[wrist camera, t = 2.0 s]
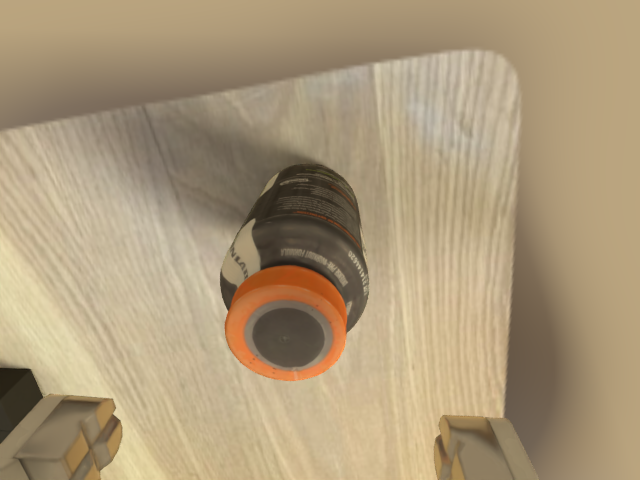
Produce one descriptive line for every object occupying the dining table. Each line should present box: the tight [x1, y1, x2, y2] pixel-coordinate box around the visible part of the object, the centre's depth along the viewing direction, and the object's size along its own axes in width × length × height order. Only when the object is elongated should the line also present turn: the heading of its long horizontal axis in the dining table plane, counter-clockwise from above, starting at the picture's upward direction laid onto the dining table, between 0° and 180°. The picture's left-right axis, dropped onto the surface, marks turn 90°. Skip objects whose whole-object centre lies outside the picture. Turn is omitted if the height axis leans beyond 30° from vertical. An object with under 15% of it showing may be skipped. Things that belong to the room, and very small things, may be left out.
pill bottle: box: [220, 164, 369, 381], centre depth 17 cm, size 6×6×11 cm
